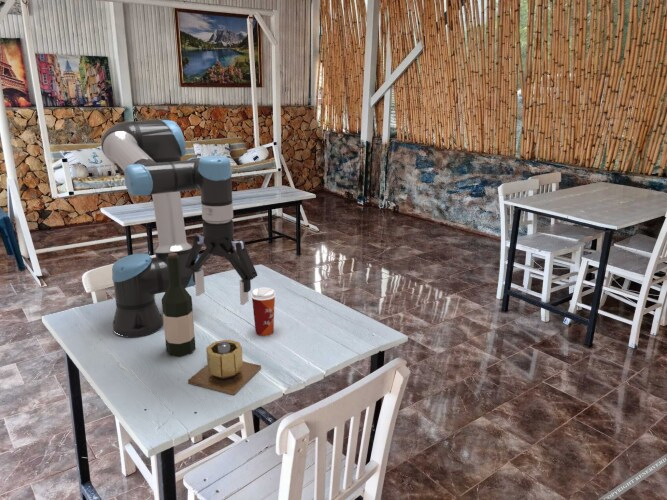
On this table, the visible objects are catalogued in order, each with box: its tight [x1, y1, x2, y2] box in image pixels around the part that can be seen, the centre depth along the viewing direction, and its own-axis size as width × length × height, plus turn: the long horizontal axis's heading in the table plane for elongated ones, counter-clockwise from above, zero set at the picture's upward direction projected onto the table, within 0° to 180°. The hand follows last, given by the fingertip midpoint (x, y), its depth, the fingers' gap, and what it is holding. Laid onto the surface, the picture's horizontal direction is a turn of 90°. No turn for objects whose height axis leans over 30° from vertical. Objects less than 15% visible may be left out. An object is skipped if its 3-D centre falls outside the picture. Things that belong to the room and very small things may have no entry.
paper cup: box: [250, 287, 277, 337], centre depth 165 cm, size 8×8×14 cm
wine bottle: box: [161, 253, 197, 358], centre depth 151 cm, size 8×8×30 cm
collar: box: [205, 339, 243, 377], centre depth 141 cm, size 9×9×6 cm
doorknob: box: [187, 342, 262, 396], centre depth 141 cm, size 14×14×10 cm
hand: (222, 298), depth 137 cm, fingers open, 13 cm apart
